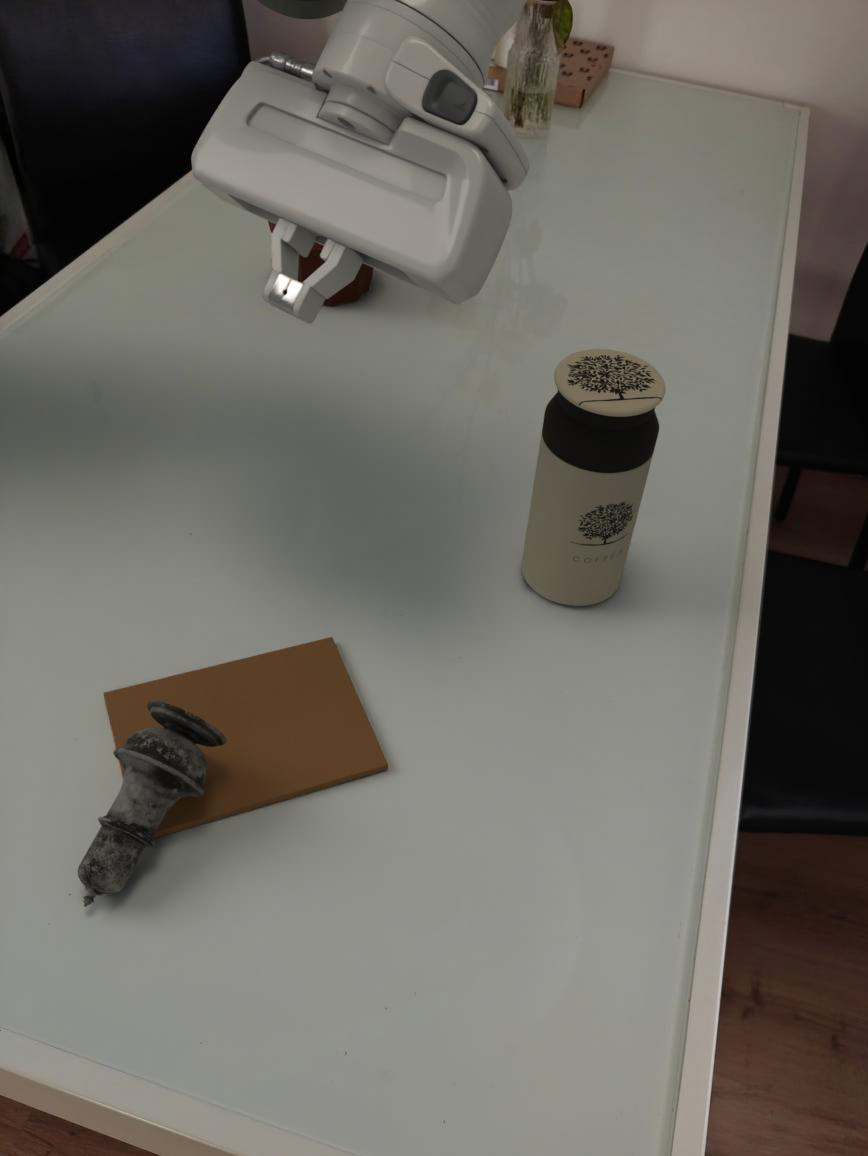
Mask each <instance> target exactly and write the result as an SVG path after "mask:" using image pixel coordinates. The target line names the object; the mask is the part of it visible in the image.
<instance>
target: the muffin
mask: <svg viewBox="0 0 868 1156" xmlns="http://www.w3.org/2000/svg"><path fill="white" fill-rule="evenodd" d="M267 223H268V227H269V230H270V232H271V233H272V232H273V230H274V228H275V226H276V224H274V223H272V222H270V221H267ZM323 247H324V246H323V245H321V244H319V243H317V242H315V243H314V245H313V247H312V249H311V251H310V253H309V255H308V257H303V256H301V255H300V254H299V264H298V282H301V283H302V282H303V281H305V280H306V279H307V278H308V277H309V276H310V275H311V274H313V273H314V272H315V271H316V270H317V269H318V268H319V267H320V266H322V265H323V264H324V263H325V261H324V260H323V259H322V258H321V257H320V254H321V252H322V250H323ZM374 269H375V268H373V267H370V266H368V265H366V264H364V263H362V265H361V267H360V269H359V271H358V273H357V275H356V277H355V279H354V280H353V281H352V282H351V283H349V284H348V285H346V286H345V287H344V288H342V289H341V290H339V291H338V292H337V293H335V294H334V295H333V296H331V297H330V298H328V299H325V301H324V303H323V305H322V306H328V307H336V306H339V305H344V304H350V303H357V302H358V301H359V300H360V299H361V298H362V297H363V296H364V295H366V294H367V293H369V292H370V291H371V286H372V279H373V275H374ZM303 284H304V283H303Z"/></svg>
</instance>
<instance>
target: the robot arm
mask: <svg viewBox="0 0 868 1156" xmlns="http://www.w3.org/2000/svg"><path fill="white" fill-rule="evenodd" d="M256 1H257V2H258V3H260V4H261V5H262V6H264V7H265V8H267V9H269V10H271V11H273V12H275V13H277V14H279V15H282V16H285V17H289V18H293V19H298V20H299V19H300V20H319V19H324V18H328V17H332V16H334V15H337V14H339V17H338V18H337V20H336V22H335V24H334V27H333V29H332V30H331V33H330V35H329V37H328V39H327V42H326V43H325V46H324V48H323V50H322V51H321V54H320V56H319V58H318V60H317V62H316V63H313V62H309V61H304V60H300V59H298V58H295V57H294V56H292V55H291V54H288V53H287V52H283V51H272V52H271V53H270V55H266V56H263V57H259V58H257V59H256V60H252V61H250V62H249V63H248V64H247V65H246V66H245V68H244V69H243V70H242V73H241V76H240V77H239V78H238V79H237V80H236V81H235V82H234V84H233V85H232V86H231V87H230V89H228V91H227V93H226V94H225V96H224V97H223V99H222V100H221V102H220V104H219V105H218V106H217V108H216V109H215V111H214V113H213V114H212V116H211V117H210V120H209V121H208V122H207V124H206V126H205V128H204V129H203V131H202V132H201V135H200V136H199V139H198V141H197V142H196V144H195V146H194V148H193V151H192V152H191V157H190V159H191V160H190V161H191V170H192V175H193V177H194V179H195V181H197V182H198V183H200V184H201V185H202V186H203V187H204V188H205V189H207V190H208V192H210V193H212V194H213V195H214V196H216V197H217V198H218V199H219V200H220V201H223V202H225V203H227V204H229V205H232V206H234V207H236V208H239V209H241V210H243V211H245V212H247V213H249V214H252V215H254V216H257V217H258V218H261V219H263V220H264V221H265V220H266V221H267V222H268V221H270V222H272V223H274V224H276V226H275V228H274V230H273V232H271V235H270V245H271V246H270V249H271V269H272V271H271V274H270V276H269V278H268V280H267V282H266V284H265V286H264V288H263V290H262V296H261V297H262V300H263V301H264V302H265V303H267V304H269V305H270V306H272V307H274V308H275V309H278V310H280V311H282V312H283V313H286V314H288V315H289V316H292V317H294V318H296V319H298V320H300V321H302V322H304V323H306V324H309V325H311V324H313V323H314V322H315V320H316V319H317V316H318V315H319V312H320V310H321V309H322V307H323V306H324V305H323V303H324V301H325V299H328V298H330V297H331V296H333V295H334V294H335V293H337V292H338V291H339V290H341V289H342V288H344V287H345V286H346V285H348V284H349V283H351V282H352V281H353V280H354V279H355V277H356V275H357V273H358V271H359V269H360V267H361V265H362V263H364V264H366V265H368V266H370V267H373V268H374V269H375V270H377V271H379V272H382V273H384V274H386V275H389V276H391V277H393V278H394V279H397V280H400V281H402V282H404V283H406V284H409V285H411V286H413V287H416V288H418V289H420V290H422V291H424V292H426V293H429V294H431V295H433V296H435V297H437V298H440V299H441V300H445V301H446V302H449V303H450V304H454V305H458V306H459V305H462V304H464V303H466V302H467V301H469V300H471V299H473V298H474V297H476V296H477V295H478V294H480V292H481V290H482V289H483V287H484V286H485V284H486V282H487V279H488V278H489V276H490V274H491V271H492V269H493V267H494V265H495V263H496V261H497V258H498V257H499V254H500V251H501V249H502V246H503V244H504V241H505V238H506V236H507V234H508V231H509V228H510V225H511V221H512V216H513V200H512V197H511V194H510V193H509V191H515V190H517V189H518V188H520V187H521V186H522V184H523V182H524V181H525V179H526V177H527V176H528V173H529V170H530V165H531V164H530V161H529V158H528V156H527V153H526V151H525V149H524V146H523V145H522V143H521V141H520V139H519V137H518V135H517V133H516V131H515V130H514V129H513V127H512V125H511V124H510V123H509V121H508V119H507V117H506V116H505V114H504V113H503V112H502V111H501V109H500V108H499V106H498V105H497V104H496V103H495V101H494V100H493V99H492V98H491V97H490V96H489V95H488V94H487V93H486V92H485V91H483V89H484V88H485V85H486V83H487V80H488V76H489V72H490V68H491V62H492V58H493V55H494V52H495V50H496V48H497V46H498V44H499V42H500V41H501V40H502V38H503V37H504V36H505V34H506V33H507V32H508V31H509V30H510V29H511V28H512V27H513V26H514V24H515V23H516V22H517V20H518V19H519V17H520V15H521V14H522V11H523V9H524V7H525V6H526V3H527V1H528V0H256ZM315 242H317V243H319V244H321V245H323V246H324V247H323V250H322V252H321V254H320V257H321V258H322V259H323V260H324V261H325V263H324V264H323V265H322V266H320V267H319V268H318V269H317V270H316V271H315V272H314V273H313V274H311V275H310V276H309V277H308V278H307V279H306V280H305V281H303V282H302V283H301V282H298V264H299V254H300V255H301V256H303V257H308V255H309V253H310V251H311V249H312V247H313V245H314V243H315ZM303 283H304V284H303Z"/></svg>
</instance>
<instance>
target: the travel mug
mask: <svg viewBox="0 0 868 1156" xmlns="http://www.w3.org/2000/svg"><path fill="white" fill-rule="evenodd" d="M553 379H554V385H555V386H556V388H557V392H556V393H555V395H554V396H553V397H552V398H551V399H549V401H548V403H547V405H546V406H545V410H544V415H543V421H542V428H541V434H540V440H539V448H538V454H537V459H536V460H537V461H536V467H535V474H534V479H533V487H532V494H531V500H530V505H529V513H528V519H527V524H526V532H525V539H524V544H523V545H524V546H523V551H522V557H521V567H520V568H521V573H522V576H523V578H524V581H526V583H527V584H528V586H529V587H530V588H531V589H532V590H533V591H535V592H536V593H537V594H538V595H540V596H541V597H543V598H545V599H547V600H549V601H551V602H554V603H556V604H561V605H566V606H573V607H584V606H591V605H595V604H598V603H602V602H604V601H606V600H607V599H609V598H610V597H612V596H613V595H614V594H615V593H616V592H617V590H618V589H619V587H620V584H621V581H622V577H623V574H624V571H625V565H626V562H627V557H628V554H629V550H630V546H631V543H632V538H633V535H634V531H635V526H636V522H637V519H638V514H639V511H640V508H641V504H642V499H643V495H644V491H645V487H646V484H647V480H648V476H649V473H650V468H651V464H652V460H653V456H654V452H655V448H656V444H657V440H658V437H659V432H660V422H659V419H658V416H657V414H656V408H657V407H658V406H659V405H660V404H661V402H662V401H663V400H664V397H665V396H666V382H665V380H664V378H663V376H662V374H661V373H660V372H659V371H658V370H657V369H656V368H655V367H654V366H653V365H651V364H650V363H649V362H647V361H646V360H644V359H643V358H640V357H638V356H636V355H633V354H631V353H628V352H624V351H620V350H614V349H606V348H593V349H591V348H590V349H585V350H580V351H576V352H574V353H571V354H569V355H567V356H566V357H564V358H563V359H561V360H560V362H559V363H558V364H557V365H556V367H555V370H554V374H553Z"/></svg>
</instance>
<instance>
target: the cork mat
mask: <svg viewBox="0 0 868 1156" xmlns="http://www.w3.org/2000/svg"><path fill="white" fill-rule="evenodd" d="M103 699H104V702H105V706H106V711H107V715H108V719H109V724H110V726H111V732H112V736H113V741H114V744H115V749H117V748H122V747H123V745H124V744H125V742H126V740H127V739H128V738H130V737H131V736H132V735H133V734H135V733H136V732H137V731H138V730H142V729H145V728H148V727H157V728H164V727H163V726H162V725H160V724H159V723H158V722H156V721H155V720H154V719H153V718H152V716H151V713H150V711H149V710H148V708H147V703H148V702H149V701H160V702H164V703H167V704H171V705H173V706H176V707H178V708H181V709H183V710H185V711H187V712H190V713H192V714H194V715H195V716H197V717H199V718H201V719H203V720H204V721H206V722H208V723H209V724H211V725H212V726H213V727H215V728H216V729H218V730H219V731H220V732H221V733H222V734H223V735H224V736H225V738H226V740H227V742H226V744H224V745H222V746H215V747H208V746H203V745H200V744H196V745H197V746H198V747H199V748H200V749H201V750H202V751H203V753H204V754H205V758H206V761H207V765H208V768H207V777H206V780H205V782H204V784H203V786H202V788H203V790H204V795H203V796H201V797H193V796H187V797H183V798H180V799H178V800H177V801H176V802H175V803H174V804H173V805H172V807H171V808H170V809H169V810H168V811H167V812H166V814H165V816H164V817H163V819H162V821H161V823H160V825H159V827H158V828H157V830H156V832H155V834H154V836H153V839H156V838H159V837H164V836H166V835H169V834H172V833H177V832H180V831H184V830H186V829H187V830H188V829H190V828H193V827H197V826H200V825H204V824H207V823H211V822H214V821H217V820H221V819H223V818H227V817H230V816H231V817H232V816H234V815H235V816H236V815H238V814H242V813H244V812H248V811H251V810H255V809H258V808H261V807H265V806H268V805H272V804H275V803H279V802H282V801H286V800H289V799H292V798H296V797H298V796H302V795H306V794H310V793H313V792H316V791H319V790H323V789H326V787H327V788H330V787H334V786H337V785H339V784H343V783H347V782H351V781H353V780H357V779H360V778H364V777H367V776H371V775H375V774H378V773H381V772H384V771H387V770H388V769H389V764H388V761H387V759H386V757H385V754H384V751H383V750H382V747H381V745H380V743H379V741H378V739H377V736H376V733H375V731H374V730H373V727H372V725H371V722H370V720H369V717H368V715H367V713H366V710H365V709H364V707H363V703H362V701H361V699H360V697H359V695H358V692H357V690H356V688H355V686H354V683H353V681H352V679H351V677H350V674H349V672H348V669H347V667H346V665H345V662H344V661H343V658H342V656H341V653H340V651H339V649H338V647H337V645H336V643H335V640H334V638H333V636H329V637H326V638H321V639H317V640H314V641H310V642H305V643H301V644H297V645H293V646H289V647H285V648H281V649H277V650H272V651H269V652H265V653H260V654H255V655H252V656H247V657H244V658H240V659H236V660H232V661H227V662H224V663H219V664H215V665H211V666H207V667H202V668H199V669H194V670H190V671H187V672H183V673H178V674H174V675H170V676H167V677H162V678H159V679H154V680H149V681H146V682H142V683H138V684H133V685H130V686H125V687H121V688H117V689H113V690H109V691H106V692H103ZM118 763H119V766H120V770H121V774H122V779H124V775H125V771H124V768H123V765H122V762H120V761H119V760H118ZM377 772H378V773H377ZM370 774H371V775H370ZM336 784H337V785H336ZM329 786H330V787H329Z"/></svg>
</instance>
